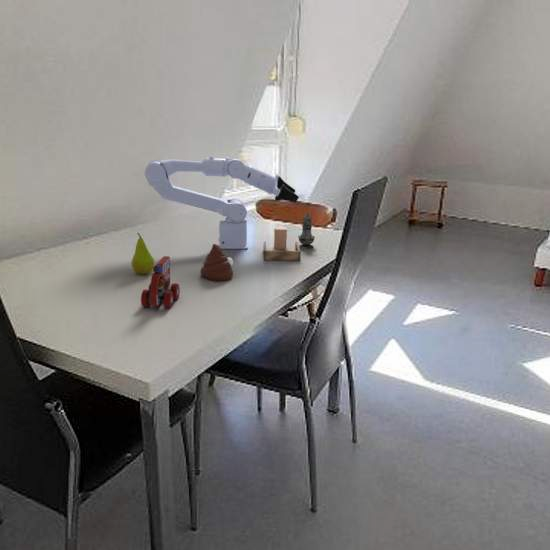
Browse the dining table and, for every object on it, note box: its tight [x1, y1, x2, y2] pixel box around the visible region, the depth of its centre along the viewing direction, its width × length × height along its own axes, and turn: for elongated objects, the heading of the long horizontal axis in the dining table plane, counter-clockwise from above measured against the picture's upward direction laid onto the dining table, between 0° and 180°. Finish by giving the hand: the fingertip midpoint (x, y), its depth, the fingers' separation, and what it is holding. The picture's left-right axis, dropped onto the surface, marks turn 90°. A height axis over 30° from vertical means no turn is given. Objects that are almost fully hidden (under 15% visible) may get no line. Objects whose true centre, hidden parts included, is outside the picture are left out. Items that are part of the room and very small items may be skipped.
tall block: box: [273, 226, 288, 249], centre depth 165 cm, size 4×4×7 cm
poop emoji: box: [200, 243, 234, 282], centre depth 136 cm, size 10×8×9 cm
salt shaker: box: [297, 212, 316, 250], centre depth 167 cm, size 6×6×12 cm
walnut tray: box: [263, 240, 302, 262], centre depth 158 cm, size 11×12×3 cm
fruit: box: [131, 232, 155, 275], centre depth 136 cm, size 6×6×12 cm
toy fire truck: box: [140, 255, 181, 309], centre depth 116 cm, size 7×12×10 cm, turn 175°
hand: (295, 196), depth 166 cm, fingers open, 7 cm apart
